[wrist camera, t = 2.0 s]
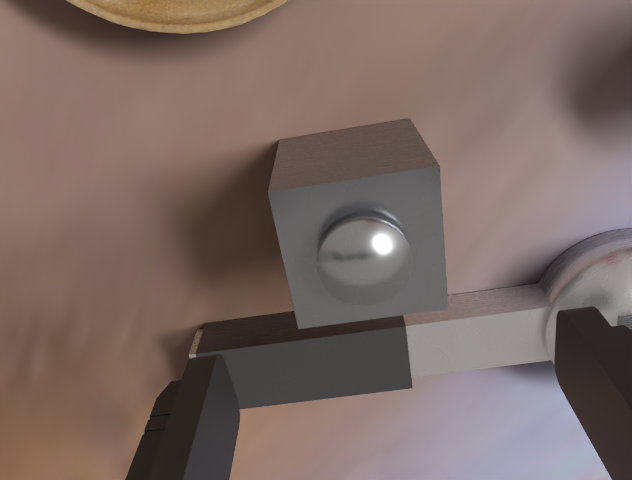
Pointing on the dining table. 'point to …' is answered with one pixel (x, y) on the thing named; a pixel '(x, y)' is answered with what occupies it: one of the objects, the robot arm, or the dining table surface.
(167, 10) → the plant saucer
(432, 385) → the dining table surface
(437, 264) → the socket
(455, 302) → the ratchet
